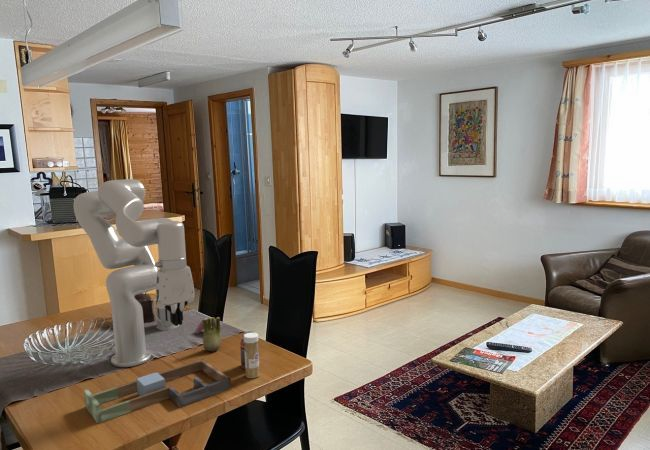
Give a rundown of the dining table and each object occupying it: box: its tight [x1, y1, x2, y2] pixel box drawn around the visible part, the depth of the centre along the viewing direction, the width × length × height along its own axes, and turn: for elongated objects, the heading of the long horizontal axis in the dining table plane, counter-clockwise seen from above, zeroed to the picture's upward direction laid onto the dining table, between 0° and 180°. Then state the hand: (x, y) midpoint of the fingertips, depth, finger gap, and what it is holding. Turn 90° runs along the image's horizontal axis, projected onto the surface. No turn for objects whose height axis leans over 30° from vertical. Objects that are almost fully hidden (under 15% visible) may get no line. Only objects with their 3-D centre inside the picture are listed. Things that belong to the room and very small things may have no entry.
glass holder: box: [152, 297, 180, 331], centre depth 192 cm, size 9×14×15 cm, turn 168°
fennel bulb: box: [202, 316, 222, 352], centre depth 171 cm, size 6×5×12 cm
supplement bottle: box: [239, 330, 260, 370], centre depth 158 cm, size 6×6×11 cm
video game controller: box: [195, 317, 223, 334], centre depth 187 cm, size 10×5×7 cm, turn 58°
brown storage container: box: [134, 292, 156, 324], centre depth 204 cm, size 16×11×18 cm
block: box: [136, 371, 166, 397], centre depth 141 cm, size 6×6×5 cm
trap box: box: [83, 359, 232, 424], centre depth 140 cm, size 18×36×5 cm, turn 131°
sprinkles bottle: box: [244, 332, 261, 379], centre depth 151 cm, size 5×5×14 cm
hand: (177, 323), depth 144 cm, fingers closed
